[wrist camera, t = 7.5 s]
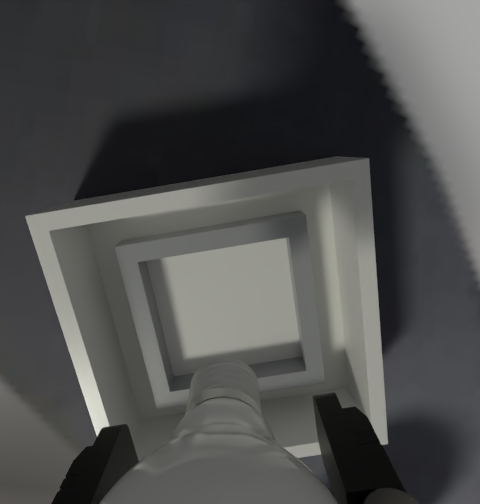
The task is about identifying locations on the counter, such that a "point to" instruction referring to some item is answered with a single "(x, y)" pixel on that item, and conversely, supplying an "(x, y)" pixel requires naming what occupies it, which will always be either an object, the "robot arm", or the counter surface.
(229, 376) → the lightbulb
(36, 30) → the counter surface
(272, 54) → the counter surface
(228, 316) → the walled box
